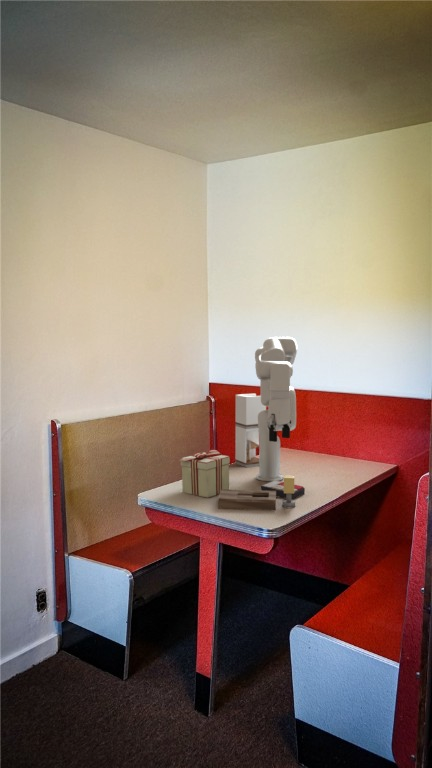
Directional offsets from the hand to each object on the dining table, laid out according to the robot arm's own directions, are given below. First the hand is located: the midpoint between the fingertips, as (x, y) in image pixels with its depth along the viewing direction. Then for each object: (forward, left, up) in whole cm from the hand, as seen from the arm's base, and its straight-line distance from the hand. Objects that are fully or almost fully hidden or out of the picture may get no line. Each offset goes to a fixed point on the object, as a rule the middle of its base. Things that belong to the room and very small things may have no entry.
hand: (279, 439), depth 236 cm
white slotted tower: (-72, -14, -27) cm, 78 cm away
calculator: (-19, +2, -27) cm, 33 cm away
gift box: (-19, -32, -27) cm, 46 cm away
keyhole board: (-2, -12, -26) cm, 29 cm away
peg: (-2, +4, -27) cm, 27 cm away
